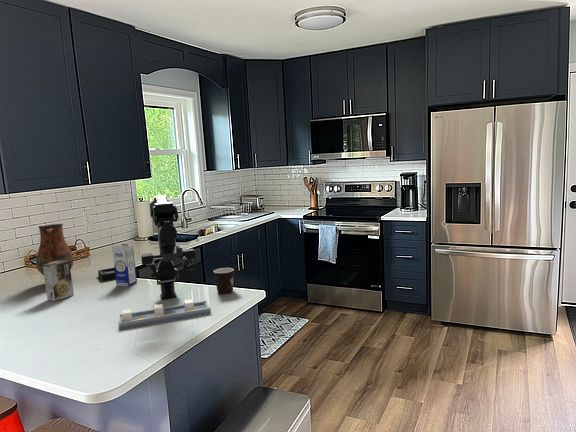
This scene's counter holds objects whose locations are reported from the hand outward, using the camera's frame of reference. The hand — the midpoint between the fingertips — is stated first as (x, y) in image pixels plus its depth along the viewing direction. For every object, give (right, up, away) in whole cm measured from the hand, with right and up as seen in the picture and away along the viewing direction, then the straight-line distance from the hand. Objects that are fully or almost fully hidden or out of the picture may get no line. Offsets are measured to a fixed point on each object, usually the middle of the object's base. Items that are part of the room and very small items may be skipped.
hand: (170, 279), depth 156 cm
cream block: (+5, -12, +7) cm, 15 cm away
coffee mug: (+15, -11, +28) cm, 34 cm away
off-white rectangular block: (-5, -13, +3) cm, 15 cm away
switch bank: (-3, -15, +4) cm, 15 cm away
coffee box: (-60, -14, +37) cm, 71 cm away
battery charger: (-50, -10, +67) cm, 84 cm away
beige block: (-15, -15, -1) cm, 21 cm away
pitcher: (-74, -11, +60) cm, 96 cm away
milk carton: (-35, -10, +52) cm, 63 cm away
